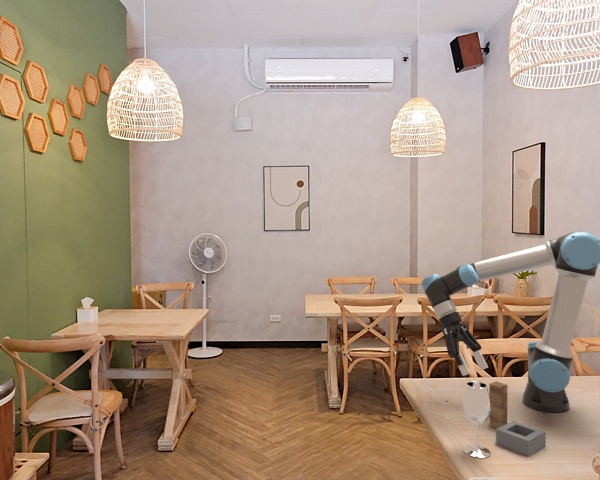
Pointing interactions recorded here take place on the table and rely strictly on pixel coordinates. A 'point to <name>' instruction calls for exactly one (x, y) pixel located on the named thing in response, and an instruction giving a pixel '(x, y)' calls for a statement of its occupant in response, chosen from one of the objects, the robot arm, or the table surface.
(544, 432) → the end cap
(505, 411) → the wooden block
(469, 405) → the wineglass
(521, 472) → the table surface
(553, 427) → the table surface
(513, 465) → the table surface
